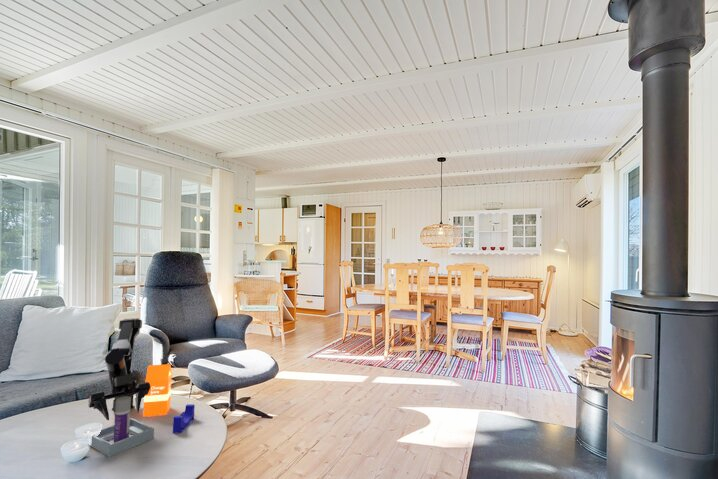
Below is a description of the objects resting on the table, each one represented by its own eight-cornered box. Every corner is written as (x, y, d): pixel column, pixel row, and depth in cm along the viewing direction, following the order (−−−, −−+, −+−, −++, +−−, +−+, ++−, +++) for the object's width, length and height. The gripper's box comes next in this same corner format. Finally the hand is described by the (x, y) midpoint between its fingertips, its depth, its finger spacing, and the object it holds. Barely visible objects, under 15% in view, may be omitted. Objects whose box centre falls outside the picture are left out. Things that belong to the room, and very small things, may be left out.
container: (111, 444, 127) (113, 401, 128) (116, 438, 132) (118, 396, 132) (126, 443, 129) (128, 400, 129) (130, 436, 133) (132, 395, 134)
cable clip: (182, 419, 148) (183, 404, 149) (194, 419, 149) (194, 404, 149) (168, 433, 137) (169, 417, 137) (180, 433, 137) (181, 417, 137)
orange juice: (147, 409, 156) (150, 362, 157) (170, 407, 159) (172, 361, 160) (142, 417, 149) (145, 368, 150) (166, 415, 152) (169, 366, 152)
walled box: (131, 427, 140) (132, 418, 140) (153, 437, 133) (154, 428, 133) (87, 444, 127) (87, 433, 127) (109, 456, 120) (109, 446, 120)
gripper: (91, 370, 127) (95, 412, 119) (150, 360, 141) (157, 397, 132) (86, 387, 133) (90, 428, 124) (143, 376, 146) (150, 412, 137)
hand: (123, 415), depth 129 cm, fingers open, 9 cm apart
